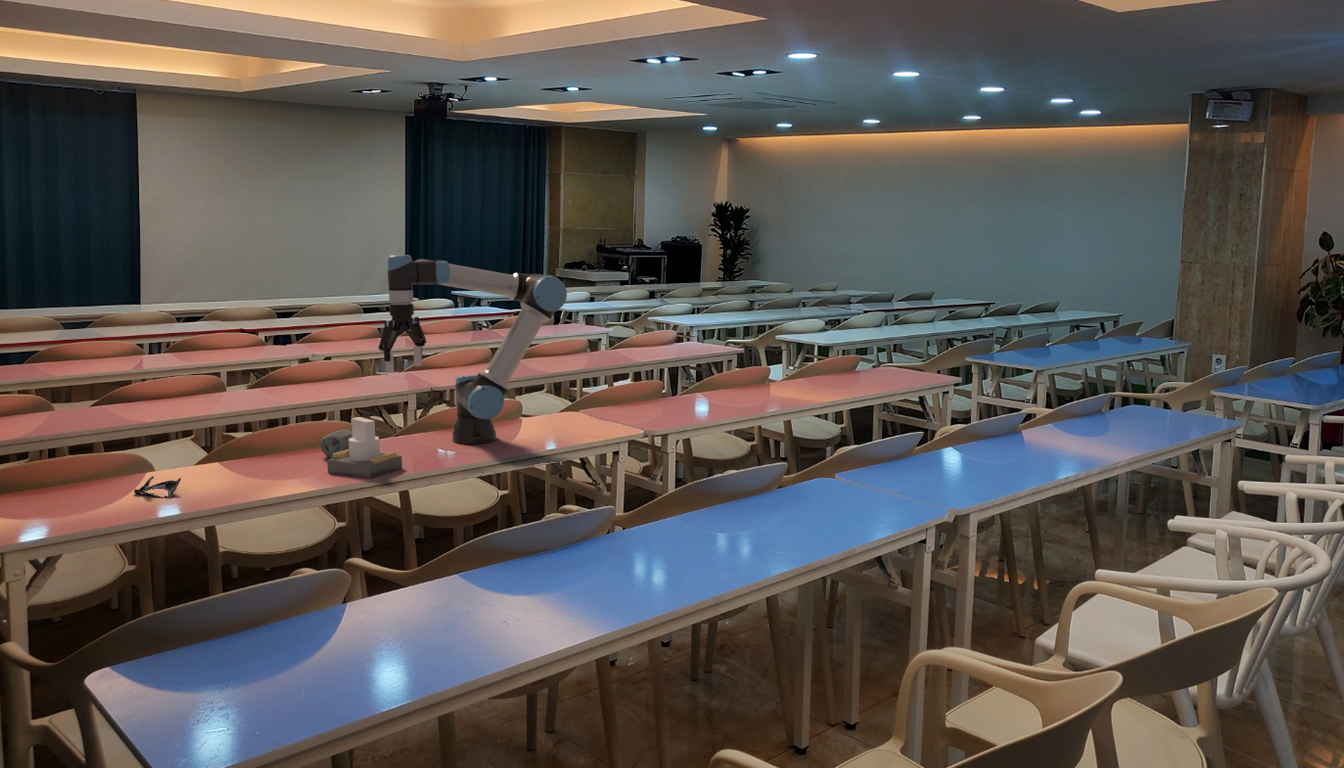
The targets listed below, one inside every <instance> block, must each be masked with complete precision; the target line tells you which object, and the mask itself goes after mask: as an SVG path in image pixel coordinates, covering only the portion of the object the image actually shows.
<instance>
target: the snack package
mask: <svg viewBox="0 0 1344 768" xmlns="http://www.w3.org/2000/svg"><path fill="white" fill-rule="evenodd" d="M170 478H171V477H168V479H169V480H166V481H162V482H159V483H156V484H153V485H151V484H150V483H151V481H153V480H154V479H155V477H154V476H153V475H152V476H151V477H149V478H148V480H146V481H145V483H144V484H143V486H141V487H140V488H139V489H137V488H134V492H133V494H134V493H143V494H142V495H153V496H156V495H155V494H154V493H147V492H145V491H148V490H151V489H152V490H154V489H164V490H166V491H168V497H167V498H172V497H173V495H174V493H175V492H176V491H177V489H178V487H179V484H180V482H181V480H182V478H181V477H179V478H178V479H177V480H173V479H171V480H170ZM171 496H172V497H171ZM156 497H157V496H156Z"/></svg>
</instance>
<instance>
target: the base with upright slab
mask: <svg viewBox="0 0 1344 768" xmlns="http://www.w3.org/2000/svg"><path fill="white" fill-rule="evenodd" d="M375 424H376V423H375V420H374V419H373V420H372V419H369V418H366V417H362V416H361V417H360V416H358V417H352V418H351V431H352V438H350V439H349V458H350V460H353V461H370V460H371V459H372V458H375V457H378V456H380V453H381V449H380V438H379V436H378V435H377V436H376V426H375Z"/></svg>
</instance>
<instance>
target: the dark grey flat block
mask: <svg viewBox="0 0 1344 768" xmlns="http://www.w3.org/2000/svg"><path fill="white" fill-rule="evenodd" d="M326 461H327V464H326V465H327V473H330V474H335V475H336V474H337V475H343V476H349V477H350V476H351V477H356V478H362V479H363V478H365V479H370V480H371V479H374V478H376V477H381V476H383V475H386V474H389V473H392V472H395V471H398V470H401V469H403V457H402V455H399V454H397V452H396V451H391V452H390V453H382V452H380V456H378V457H375V458H372V459H371V460H370V461H353V460H350V458H349V449H347V450H344V451H340V452H337V453H333V458H328V459H327V460H326Z"/></svg>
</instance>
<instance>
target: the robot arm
mask: <svg viewBox="0 0 1344 768" xmlns="http://www.w3.org/2000/svg"><path fill="white" fill-rule="evenodd" d="M386 271H387V282H388V283H387V284H388V285H387V286H388V298H389V299H388V300H389V303H390V304H389V307H388V308H389V315H390V316H391V319H385V320H384V325H383V326H384V327H383V329H382V335H381V337H380V341H379V345H378V350H379V351H381V352H383V360H384V363H385V372H389V373H393V372H394V373H395V369H394V368H395V365H394V363H395V362H394V351H392V349H393V347H394V345H395V343H396V341H397V339H398V337H399V335H401V334H402V333H407V335H408V337H409V338H410V339H411V341H412V342H413V344H414V346H413V348H412V349H413V353H412V354H413V366H414V367H422V366H423V360H422V357H423V347H425V344H426V343H427V340H426V336H425V334H424V331H423V329H422V326H421V323H420V318H419V316H413V315H415V313H414V311H415V310H414V304H413V302H414V291H413V289H414V288H413V287H414V286H413V285H441V286H447V287H453V288H457V289H464V290H468V291H469V290H470V291H475V292H482V293H486V294H494V295H500V296H506V297H509V299H510V300H512V301H517V302H519V304H520V311H519V314H518V315H517V317H516V318H515V320H514V321H513V323H512V324H511V326H510V328H509V330H508V332H507V333H506V335H505V337H504V338H503V340H502V342H501V343H500V345H499V347H498V348H497V350H496V352H495V353H494V355H493V357H492V358H491V360H490V362H489V363H488V364H487V367H486V369H485V370H482V371H479V372H478V373H477V374H473V375H470V374H469V375H460V376H459V375H458V376H457V377H456V379H455V397H456V398H455V399H456V402H455V404H456V405H455V406H456V420H455V424H454V428H453V432H452V436H451V437H452V442H454V443H457V444H462V445H475V444H477V445H478V444H485V443H490V442H494V441H496V440H497V432H496V430H495V426H494V423H493V420H492V419H493V418H495V417H497V416H498V415H499V414H500V413H501V412H502V410H503V408H504V405H505V397H506V396H507V394H508V392H509V390H510V388H509V381H510V380H511V378H512V376H513V375H514V374H515V372H516V370H517V368H518V366H519V364H521V361H522V360H523V357H524V356H525V355H526V353H527V351H528V349H529V348H530V346H531V344H532V343H533V341H534V339H535V337H536V336H537V334H538V332H539V331H540V329H541V327H542V326H543V324H544V323H547V322H549V321H551V320H552V317H553V315H555V312H556V311H558V310H560V309H562V307H563V306H564V305H565V303H566V301H567V298H568V296H567V295H568V293H567V292H568V291H567V288H566V285H565V284H564V282H563V281H562V280H560V279H559V278H558V277H555V276H554V275H550V274H541V273H533V274H532V273H521V272H520V273H519V272H514V273H513V274H510V273H509V274H508V273H504V272H498V271H492V270H486V269H481V268H475V267H469V266H465V265H457V264H453V263H449V262H448V261H447V260H440V259H437V260H431V259H430V260H429V259H426V258H419V259H416V260H413V259H412V256H411V255H409V254H392V255H391V254H390V255H389V256H388V258H387V269H386Z"/></svg>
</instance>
